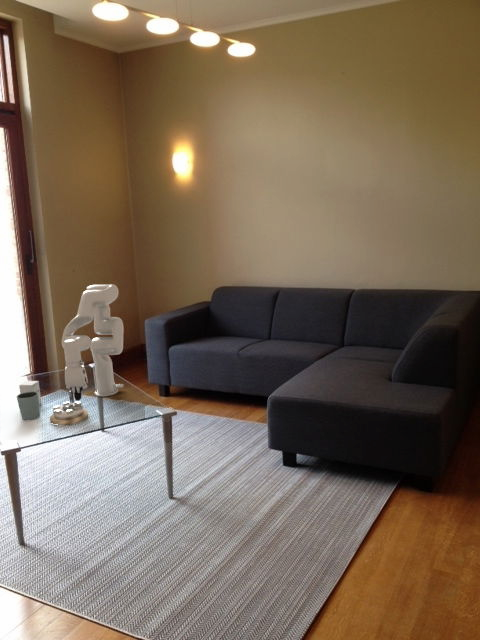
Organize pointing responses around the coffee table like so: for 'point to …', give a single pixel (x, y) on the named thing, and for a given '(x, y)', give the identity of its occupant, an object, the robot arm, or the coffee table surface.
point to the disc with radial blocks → (68, 409)
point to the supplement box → (31, 388)
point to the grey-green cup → (28, 405)
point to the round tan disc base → (70, 421)
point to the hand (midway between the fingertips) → (78, 399)
